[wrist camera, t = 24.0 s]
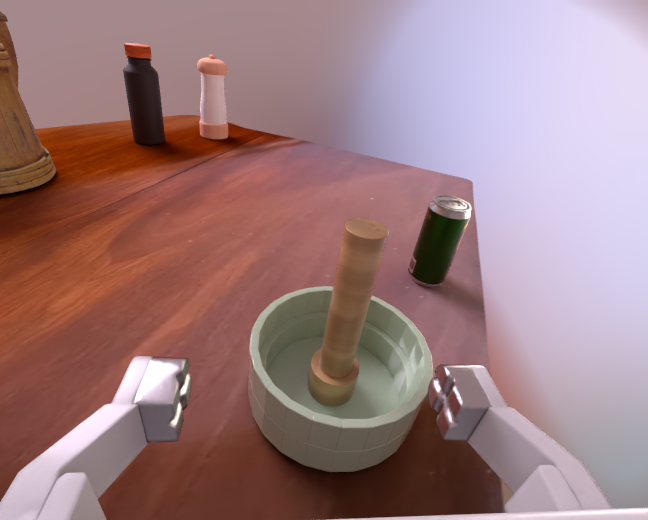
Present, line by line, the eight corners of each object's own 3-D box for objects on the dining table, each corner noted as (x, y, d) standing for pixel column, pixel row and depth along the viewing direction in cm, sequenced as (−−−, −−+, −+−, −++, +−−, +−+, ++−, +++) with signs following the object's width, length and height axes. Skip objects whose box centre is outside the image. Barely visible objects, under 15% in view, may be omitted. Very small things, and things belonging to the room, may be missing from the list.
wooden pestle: (343, 414, 31) (388, 252, 22) (299, 392, 32) (324, 229, 23) (360, 379, 35) (405, 225, 25) (319, 360, 36) (349, 207, 27)
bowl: (383, 516, 26) (407, 471, 22) (211, 417, 30) (208, 365, 26) (426, 369, 38) (446, 324, 34) (299, 313, 42) (305, 269, 39)
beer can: (414, 288, 50) (441, 210, 43) (402, 266, 54) (425, 192, 48) (449, 289, 51) (481, 213, 44) (435, 267, 55) (462, 195, 48)
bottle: (171, 140, 88) (161, 47, 77) (153, 147, 82) (140, 47, 71) (146, 135, 89) (134, 42, 78) (127, 141, 83) (111, 42, 72)
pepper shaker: (203, 130, 99) (199, 51, 89) (230, 133, 100) (229, 55, 89) (197, 137, 93) (192, 53, 83) (225, 140, 94) (224, 58, 83)
